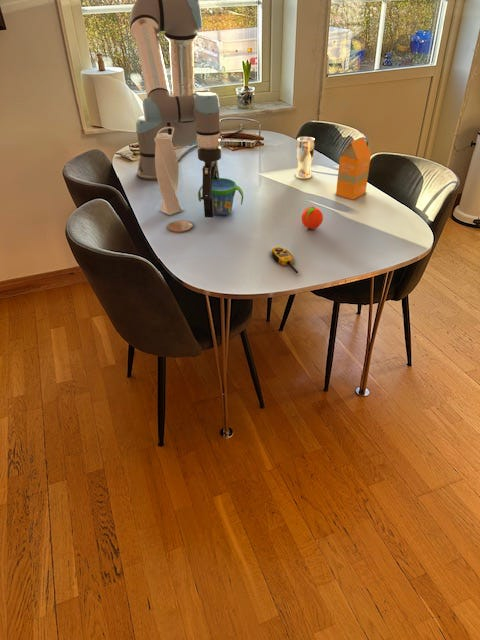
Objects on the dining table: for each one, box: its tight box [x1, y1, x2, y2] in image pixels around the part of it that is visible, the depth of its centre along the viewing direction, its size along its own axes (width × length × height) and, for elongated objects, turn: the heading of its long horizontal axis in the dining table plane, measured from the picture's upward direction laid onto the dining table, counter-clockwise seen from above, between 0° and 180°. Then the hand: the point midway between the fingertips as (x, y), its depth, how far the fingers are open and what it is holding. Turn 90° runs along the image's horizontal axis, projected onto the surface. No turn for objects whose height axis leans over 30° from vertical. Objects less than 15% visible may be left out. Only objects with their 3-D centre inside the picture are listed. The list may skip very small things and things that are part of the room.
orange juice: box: [335, 136, 372, 200], centre depth 173 cm, size 8×9×20 cm
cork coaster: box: [167, 220, 193, 233], centre depth 157 cm, size 8×8×1 cm
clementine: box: [300, 206, 324, 230], centre depth 153 cm, size 8×7×7 cm
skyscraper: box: [154, 127, 183, 216], centre depth 160 cm, size 8×8×28 cm
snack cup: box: [197, 177, 244, 216], centre depth 163 cm, size 16×11×10 cm
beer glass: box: [295, 136, 315, 180], centre depth 191 cm, size 7×7×15 cm
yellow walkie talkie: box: [271, 246, 299, 274], centre depth 136 cm, size 5×2×15 cm
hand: (212, 209), depth 164 cm, fingers open, 13 cm apart
